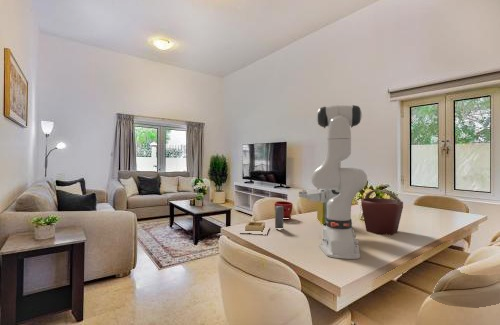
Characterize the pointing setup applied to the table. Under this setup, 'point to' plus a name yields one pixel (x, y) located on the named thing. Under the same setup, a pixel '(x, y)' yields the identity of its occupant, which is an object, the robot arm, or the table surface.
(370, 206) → the brown basket
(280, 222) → the grey cylinder
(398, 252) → the table surface
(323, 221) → the book
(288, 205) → the plant pot
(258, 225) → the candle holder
